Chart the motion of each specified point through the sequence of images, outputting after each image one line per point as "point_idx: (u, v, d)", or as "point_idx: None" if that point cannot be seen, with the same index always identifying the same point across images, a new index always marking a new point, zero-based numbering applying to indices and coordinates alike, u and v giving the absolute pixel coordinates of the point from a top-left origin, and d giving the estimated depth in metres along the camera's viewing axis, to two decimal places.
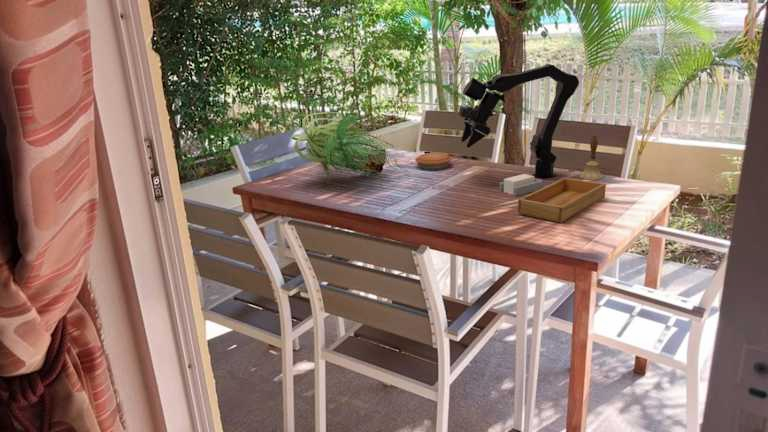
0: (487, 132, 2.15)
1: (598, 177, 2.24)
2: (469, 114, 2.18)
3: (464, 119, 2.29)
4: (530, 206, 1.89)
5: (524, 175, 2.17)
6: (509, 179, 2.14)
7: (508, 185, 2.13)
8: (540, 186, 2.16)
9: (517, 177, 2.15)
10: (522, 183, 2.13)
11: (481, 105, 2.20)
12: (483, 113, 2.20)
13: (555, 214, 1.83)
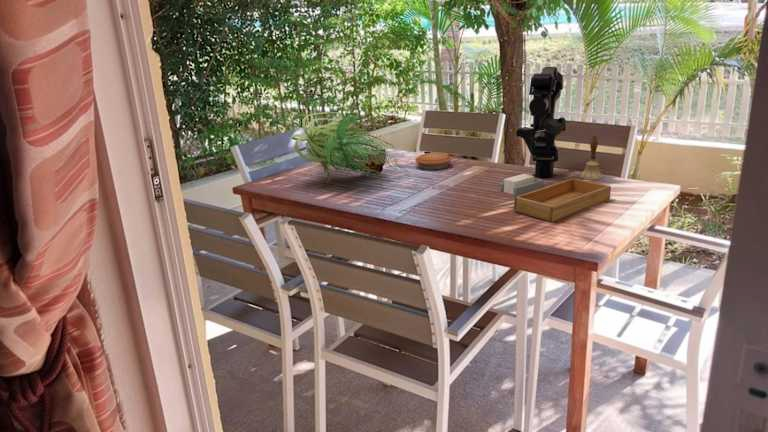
0: None
1: (598, 177, 2.24)
2: None
3: (534, 136, 2.09)
4: (525, 204, 1.91)
5: (524, 175, 2.17)
6: (509, 179, 2.13)
7: (508, 185, 2.13)
8: (540, 186, 2.16)
9: (517, 177, 2.15)
10: (522, 183, 2.13)
11: (549, 110, 2.11)
12: None
13: (547, 213, 1.85)
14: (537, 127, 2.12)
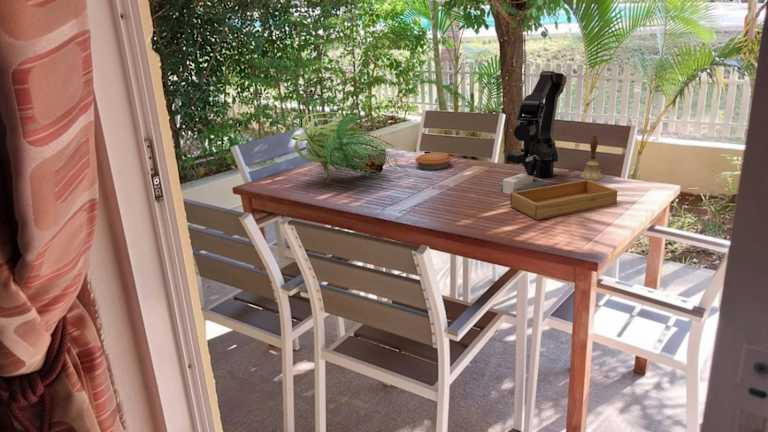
0: None
1: (598, 177, 2.24)
2: None
3: (524, 162, 2.10)
4: (517, 200, 1.95)
5: (522, 175, 2.17)
6: (508, 179, 2.13)
7: (508, 185, 2.13)
8: (540, 186, 2.16)
9: (516, 177, 2.15)
10: (521, 183, 2.13)
11: (539, 136, 2.11)
12: None
13: (532, 211, 1.88)
14: (527, 152, 2.13)
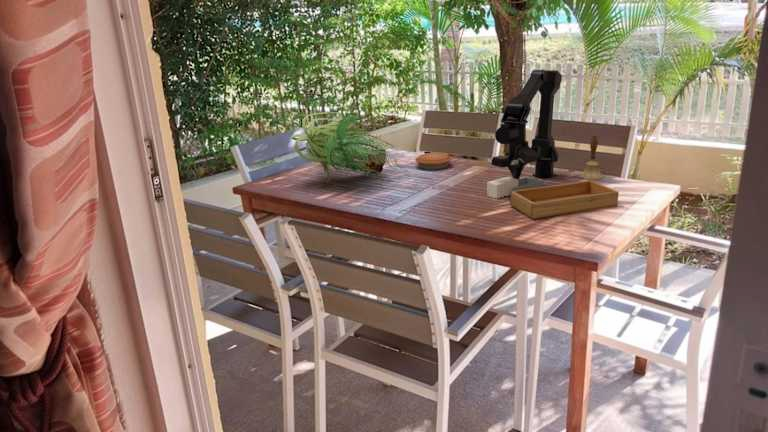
0: None
1: (598, 177, 2.24)
2: None
3: (509, 165, 2.07)
4: (516, 199, 1.96)
5: (508, 178, 2.14)
6: (492, 182, 2.11)
7: (491, 188, 2.10)
8: (540, 186, 2.16)
9: (501, 180, 2.12)
10: (505, 186, 2.10)
11: (524, 139, 2.08)
12: None
13: (529, 210, 1.89)
14: (512, 156, 2.09)
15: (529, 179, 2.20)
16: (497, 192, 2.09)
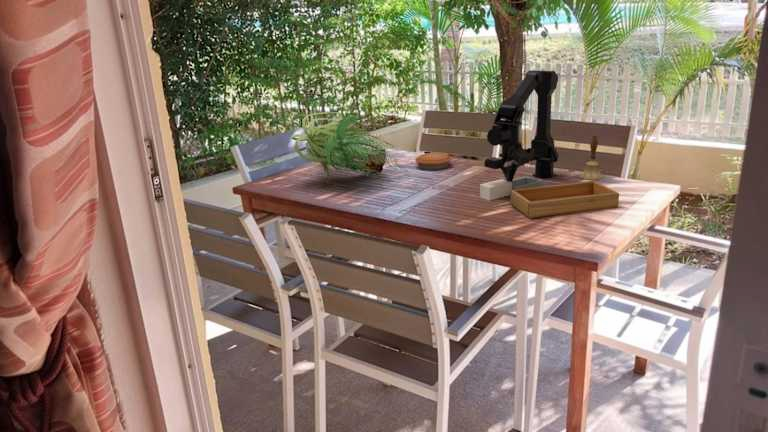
0: None
1: (598, 177, 2.24)
2: None
3: (502, 167, 2.05)
4: (515, 198, 1.97)
5: (501, 180, 2.13)
6: (485, 185, 2.09)
7: (484, 191, 2.09)
8: (540, 186, 2.16)
9: (494, 182, 2.11)
10: (499, 189, 2.09)
11: (518, 141, 2.07)
12: None
13: (526, 209, 1.90)
14: (505, 157, 2.08)
15: (529, 179, 2.20)
16: (490, 195, 2.07)
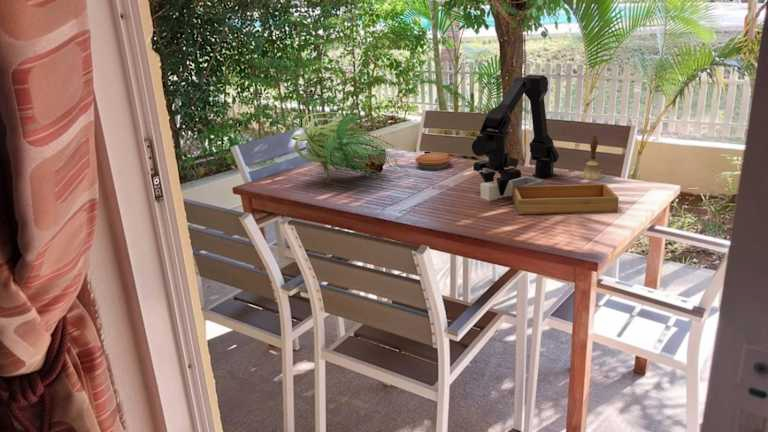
0: None
1: (598, 177, 2.24)
2: None
3: None
4: (514, 194, 2.01)
5: None
6: (485, 184, 2.09)
7: (484, 190, 2.09)
8: None
9: (495, 182, 2.10)
10: None
11: None
12: None
13: (517, 205, 1.93)
14: (503, 167, 2.06)
15: (529, 179, 2.20)
16: (489, 194, 2.07)
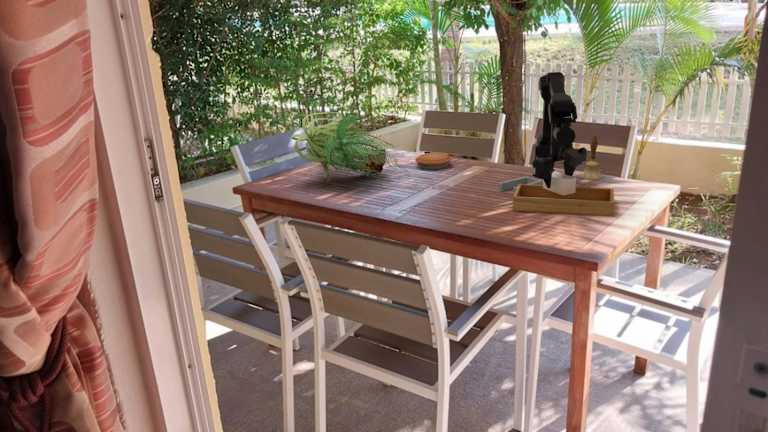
0: None
1: (598, 177, 2.24)
2: None
3: (552, 168, 1.90)
4: None
5: (568, 177, 1.94)
6: None
7: None
8: None
9: (560, 175, 1.97)
10: (551, 180, 1.97)
11: None
12: None
13: None
14: (555, 158, 1.93)
15: (529, 179, 2.20)
16: (543, 181, 2.00)
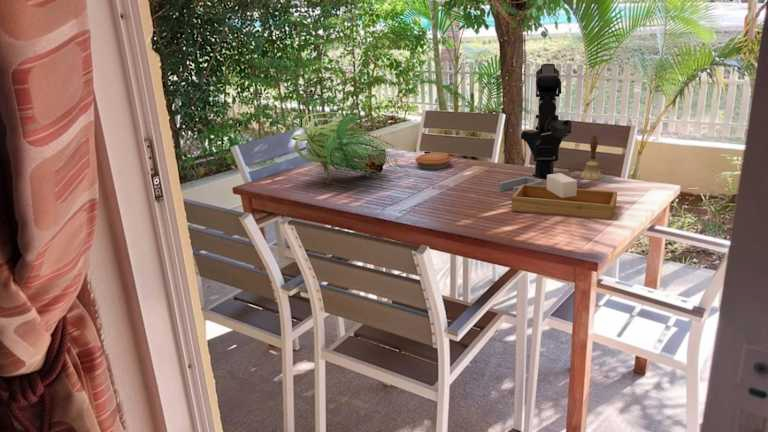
0: None
1: (598, 177, 2.24)
2: None
3: (539, 139, 2.05)
4: None
5: (569, 180, 1.91)
6: (557, 174, 1.98)
7: None
8: None
9: (563, 177, 1.94)
10: (553, 182, 1.95)
11: None
12: None
13: None
14: (542, 130, 2.07)
15: (529, 179, 2.20)
16: (547, 183, 1.99)
